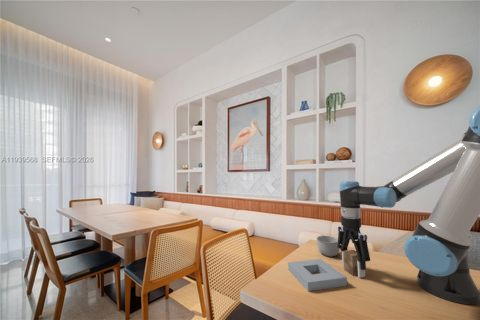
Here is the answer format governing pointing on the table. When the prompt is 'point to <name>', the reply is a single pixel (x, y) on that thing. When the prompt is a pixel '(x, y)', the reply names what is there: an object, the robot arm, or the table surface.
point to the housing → (316, 281)
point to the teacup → (328, 245)
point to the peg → (351, 262)
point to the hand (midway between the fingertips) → (353, 271)
